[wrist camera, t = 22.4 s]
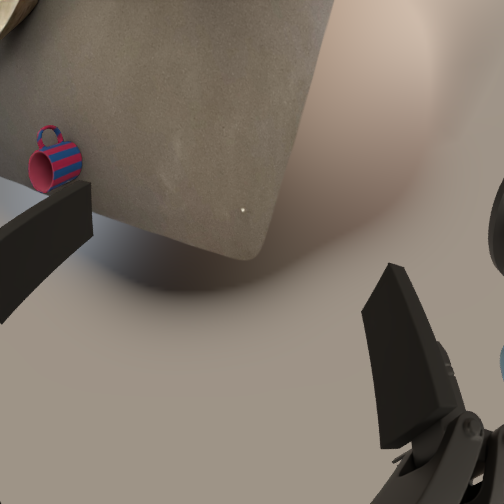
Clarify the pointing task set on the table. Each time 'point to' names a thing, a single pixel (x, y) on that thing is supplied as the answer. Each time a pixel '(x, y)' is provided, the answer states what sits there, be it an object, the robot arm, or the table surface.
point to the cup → (53, 163)
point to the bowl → (13, 14)
